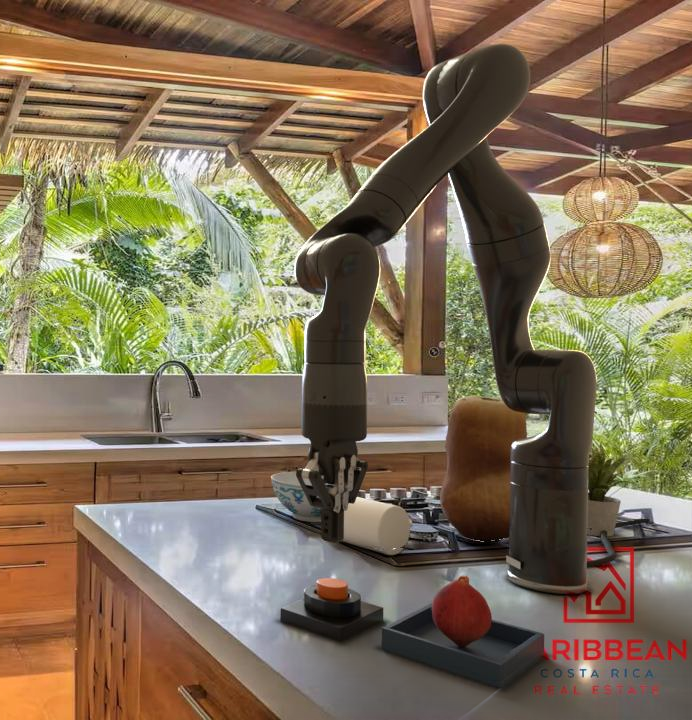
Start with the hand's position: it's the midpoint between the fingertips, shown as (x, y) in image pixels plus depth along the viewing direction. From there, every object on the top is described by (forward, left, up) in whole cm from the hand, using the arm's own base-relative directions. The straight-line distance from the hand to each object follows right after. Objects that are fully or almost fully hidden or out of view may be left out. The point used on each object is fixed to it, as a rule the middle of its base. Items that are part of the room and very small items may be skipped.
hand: (332, 540), depth 90 cm
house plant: (-74, +9, -10) cm, 75 cm away
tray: (-3, +14, -10) cm, 17 cm away
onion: (-3, +14, -10) cm, 17 cm away
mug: (-36, -13, -10) cm, 40 cm away
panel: (0, 0, -10) cm, 10 cm away
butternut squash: (-53, -3, -10) cm, 54 cm away
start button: (0, 0, -7) cm, 7 cm away
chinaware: (-45, -31, -10) cm, 56 cm away
